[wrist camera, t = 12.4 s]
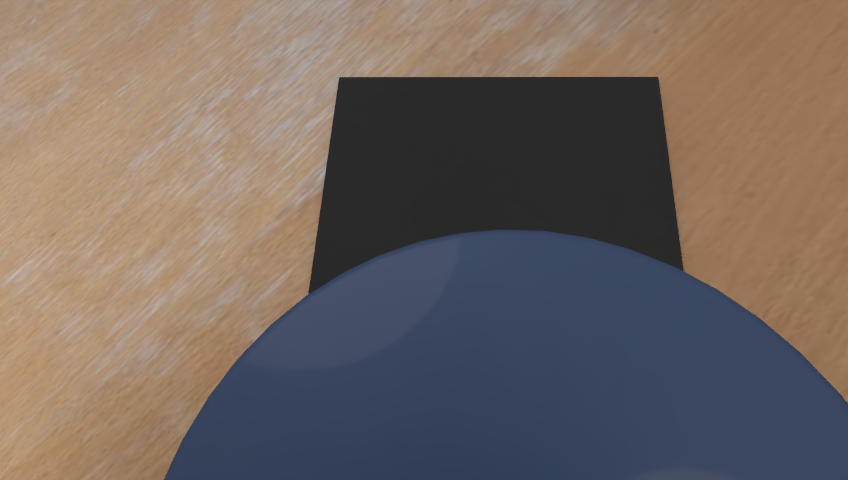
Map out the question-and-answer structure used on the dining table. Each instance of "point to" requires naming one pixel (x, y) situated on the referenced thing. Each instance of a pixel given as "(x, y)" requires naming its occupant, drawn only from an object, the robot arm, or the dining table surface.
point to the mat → (494, 164)
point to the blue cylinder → (518, 376)
